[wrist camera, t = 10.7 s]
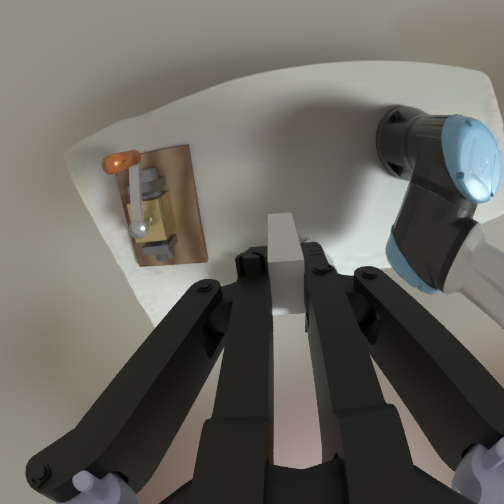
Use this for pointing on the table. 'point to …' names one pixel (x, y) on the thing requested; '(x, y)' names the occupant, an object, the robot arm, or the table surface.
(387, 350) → the robot arm
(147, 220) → the valve pipe
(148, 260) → the mounting board
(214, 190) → the table surface
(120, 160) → the lever
